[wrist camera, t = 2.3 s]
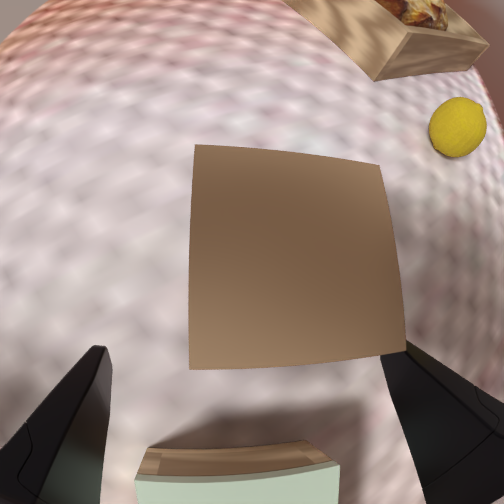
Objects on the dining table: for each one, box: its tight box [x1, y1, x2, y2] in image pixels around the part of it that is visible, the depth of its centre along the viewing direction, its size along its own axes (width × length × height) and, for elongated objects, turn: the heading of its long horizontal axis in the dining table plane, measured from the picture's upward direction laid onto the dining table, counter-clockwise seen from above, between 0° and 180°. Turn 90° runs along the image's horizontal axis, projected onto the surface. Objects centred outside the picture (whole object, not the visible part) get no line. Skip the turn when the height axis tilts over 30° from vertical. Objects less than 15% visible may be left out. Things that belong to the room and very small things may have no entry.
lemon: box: [429, 97, 487, 157], centre depth 24 cm, size 6×6×8 cm
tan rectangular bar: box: [189, 145, 406, 370], centre depth 12 cm, size 4×4×14 cm
